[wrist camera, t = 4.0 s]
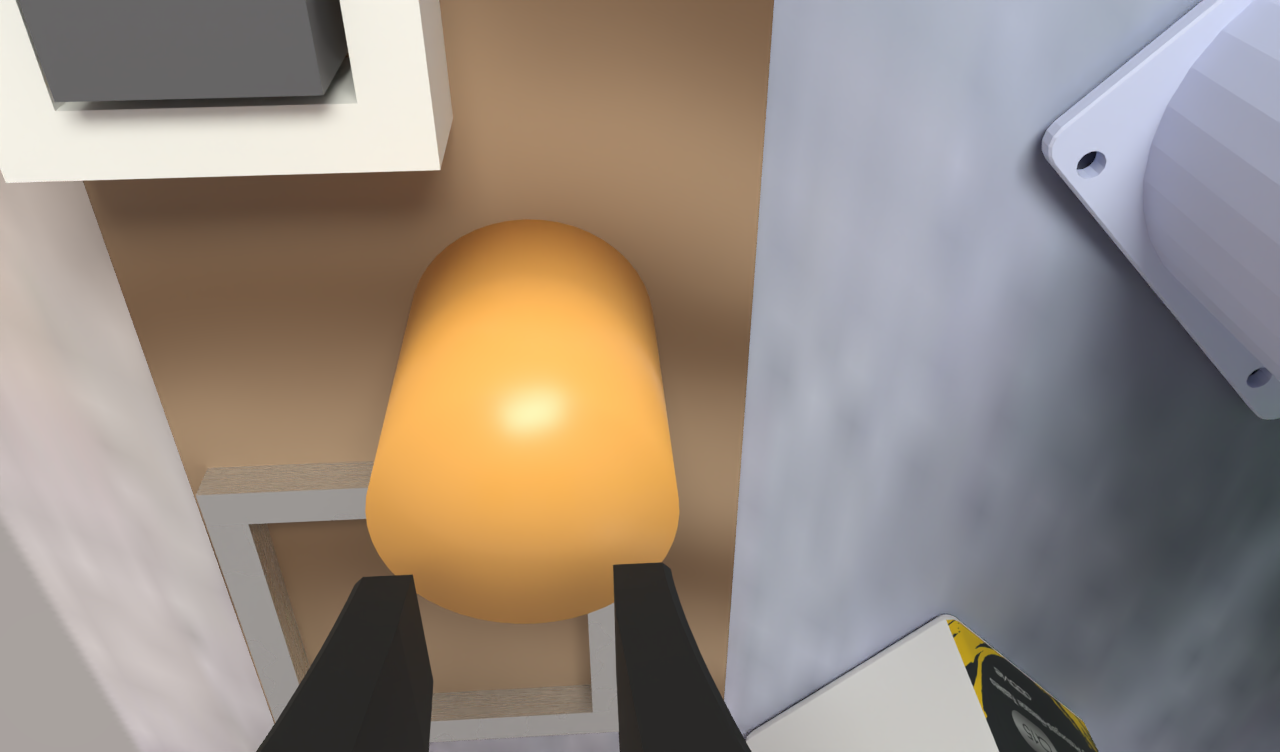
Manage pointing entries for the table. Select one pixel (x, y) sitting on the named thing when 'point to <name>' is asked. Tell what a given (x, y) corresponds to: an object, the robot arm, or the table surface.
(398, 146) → the frame
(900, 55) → the table surface
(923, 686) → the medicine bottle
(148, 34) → the button
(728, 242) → the tan flat plate
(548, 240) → the cap
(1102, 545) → the table surface
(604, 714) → the grey square frame
